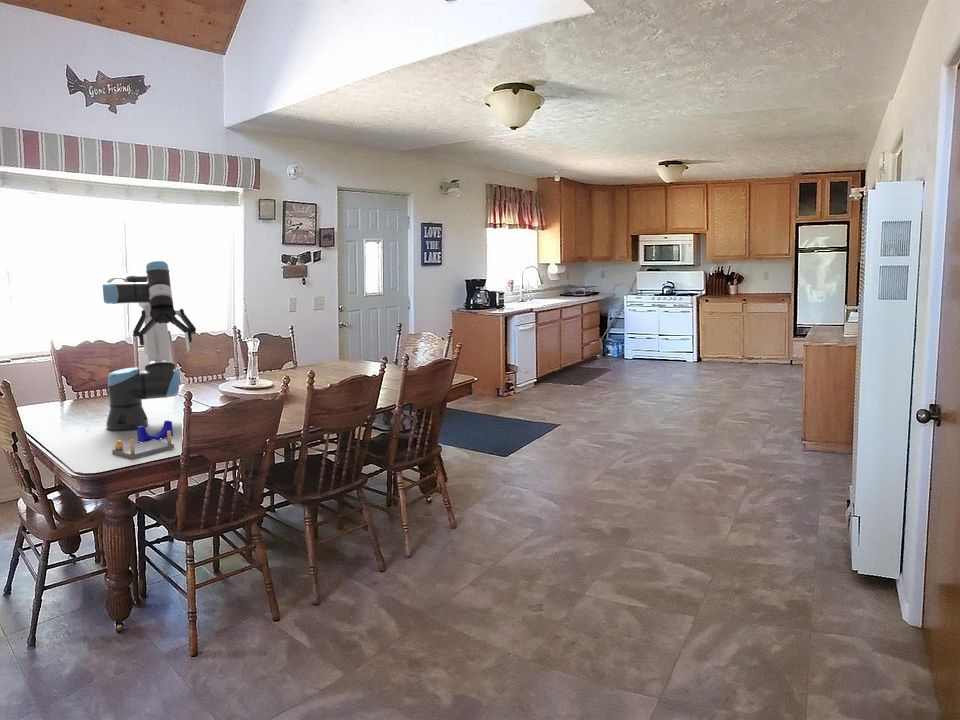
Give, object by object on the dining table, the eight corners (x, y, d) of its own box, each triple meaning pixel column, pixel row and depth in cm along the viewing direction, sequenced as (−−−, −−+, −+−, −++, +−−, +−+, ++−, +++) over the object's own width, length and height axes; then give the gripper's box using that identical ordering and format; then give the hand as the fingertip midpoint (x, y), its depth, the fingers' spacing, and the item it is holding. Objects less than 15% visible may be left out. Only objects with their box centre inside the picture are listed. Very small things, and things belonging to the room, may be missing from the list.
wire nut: (113, 447, 251) (114, 440, 250) (120, 447, 253) (121, 439, 252) (117, 449, 249) (118, 442, 249) (123, 449, 251) (125, 441, 251)
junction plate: (112, 453, 251) (111, 435, 250) (154, 443, 264) (153, 426, 263) (132, 459, 244) (130, 440, 243) (174, 448, 258) (173, 430, 257)
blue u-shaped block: (143, 443, 264) (142, 428, 263) (138, 441, 267) (136, 426, 266) (174, 437, 273) (173, 422, 272) (168, 435, 276) (167, 420, 275)
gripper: (122, 295, 248) (127, 348, 240) (198, 293, 259) (206, 343, 251) (122, 306, 254) (127, 359, 246) (197, 304, 265) (204, 353, 257)
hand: (167, 351), depth 248 cm, fingers open, 13 cm apart
